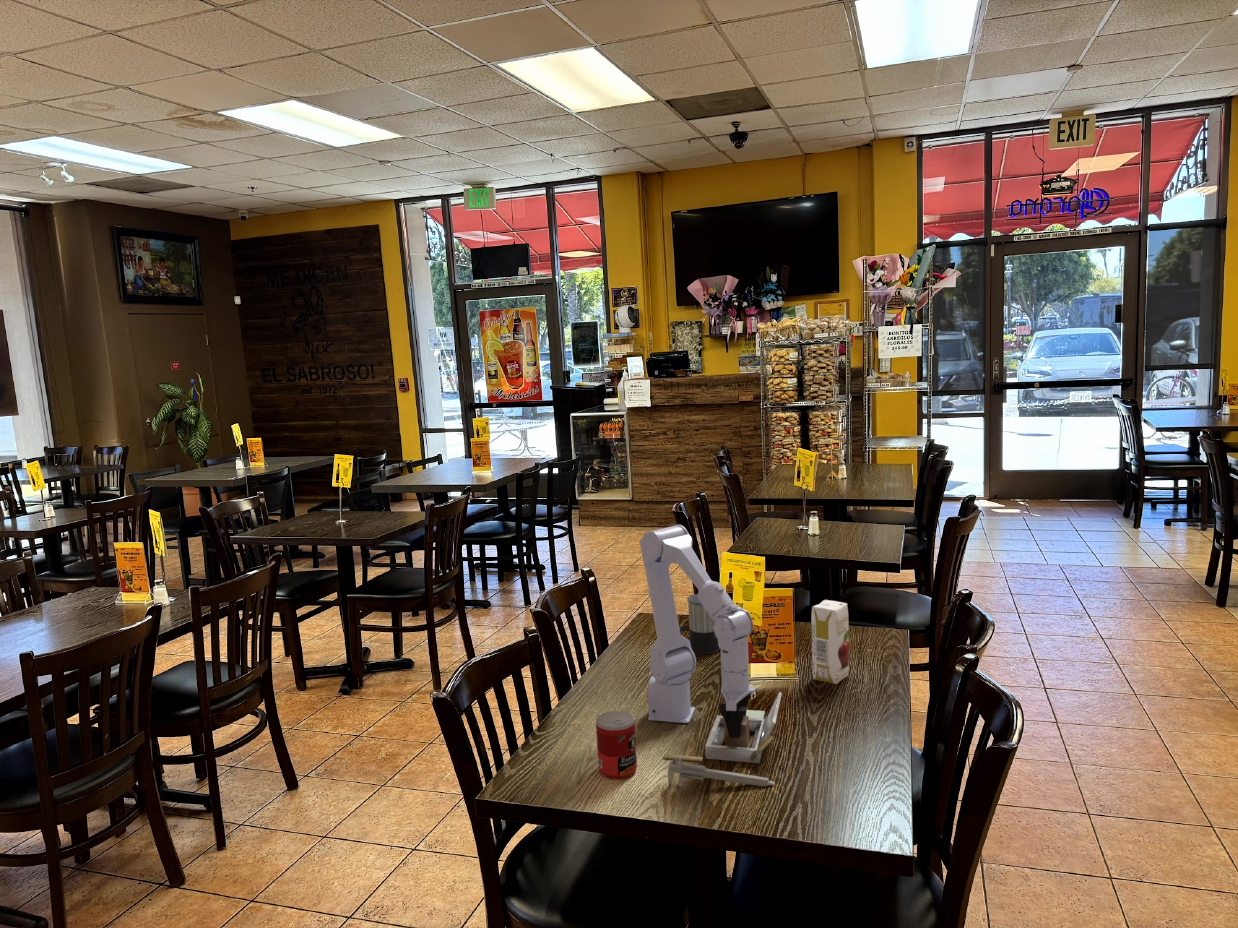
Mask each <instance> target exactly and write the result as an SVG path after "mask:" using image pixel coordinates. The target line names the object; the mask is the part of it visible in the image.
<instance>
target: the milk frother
mask: <svg viewBox="0 0 1238 928" xmlns="http://www.w3.org/2000/svg"><path fill="white" fill-rule="evenodd" d="M686 601H687V603H688V621H689V622H688V624H689V625H683V626H679V629H680V634H681V635H682V633H683V632H685V631H686V632H689V637H687V638H686V637H685V638H686V639H688V640H689V641H690V644H691V648H692V651H693V652H694V654H699V655H711V654H716V653H718V651H719V650H720V651H721V649H720V648H719V646H718V639H717V637H716V635H715V632H714V629H713V626H715V622H714V621H713V619H712V618H711V617H710V615H709V614H708V612H707V611H706V609H705V608H704V606H703V605H702V604H701V602H700V601H699V599H698V593H697V594H696V593H695V594H692V595H690V596H688V597H687V598H686ZM720 651H719V652H720ZM715 652H716V653H715Z"/></svg>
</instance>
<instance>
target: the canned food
mask: <svg viewBox="0 0 1238 928" xmlns="http://www.w3.org/2000/svg"><path fill="white" fill-rule="evenodd" d="M635 722H636V720H635V717H634V715H632V714H631V713H630V712H627V711H624V710H623V711H621V710H611V711H606V712H603V713H601V714H599V715H598V716H596V719H595V724H596V725H595V728H596V729H595V731H596V745H597V746H596V747H597V762H598V764H597V765H598V770H599V772H600V773H599V774H601V775H602V776H603V777H605V778H607V779H611V780H622V779H628V778H630V777H632V776H634V774H635V773H636V771H637V767H638V763H637V762H638V761H637V759H638V758H637V741H636V740H637V739H636V723H635Z"/></svg>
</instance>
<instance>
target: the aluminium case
mask: <svg viewBox="0 0 1238 928" xmlns="http://www.w3.org/2000/svg"><path fill="white" fill-rule="evenodd" d="M764 720H765V718H763V719H760V718H749V732H754V736H753V740H752V743H751V747H747V748H744V747H732V746H725V745H722V743H723V741H724V739H725V725H724V723H725V720H724V718H723V716H722V715H718V714H717V715H716V717H715V720H714V722H713V726H712V728H711V730H710V732H709V736H708V738H707V741H706V744H705V745H704V749H705V750H704V751H705V752H704V753H705V759H708V760H717V761H718V760H720V761H728V762H729V761H731V762H738V763H741V762H742V763H751V764H753V763H754V764H760V763H761V758H762V754H763V750H764V749H763V750H762V751H761V752H760V753H759V755H758V756H757V757H756V758H755V759H754V760H753V761H752V760H751V759H750V757H751V756H752V755H753V754H754V753H755V752H756V750H757V748H758V744H759V740H760V736H761V732H762V728H763V724H764Z"/></svg>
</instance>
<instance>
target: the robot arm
mask: <svg viewBox="0 0 1238 928" xmlns="http://www.w3.org/2000/svg"><path fill="white" fill-rule="evenodd" d="M639 545H640V549H641V556H642V562H643V566H644V570H645V576H646V581H647V587H648V592H649V599H650V604H651V605H650V606H651V609H652V614H653V620H654V627H655V632H656V637H657V638H656V640H655V641H654V643H653V644H652V646H651V647H650V648H649V655H650V659H649V670H650V673H651V675H652V676H651V677H650V678H649V680H648V687H647V701H648V718H647V719H648V720H649V721H653V722H667V723H679V724H681V723H682V724H689V723H690V721H691V719H692V717H693V715H694V712H695V710H696V707H695V706H691V689H690V688H691V687H690V683H691V682H690V678H691V677H692V672H694V671H695V669H696V666H697V657H696V655H695V654H696V653H694V652H693V651H692V648H691V644H690V641H689V640H688V639H686V637H684V636H683V635H682V633H681V634H680V629H679V627H680V624H679V619H678V614H677V613H678V612H677V608H676V602H675V595H674V591H673V585H672V580H671V574H670V569H669V568H670V566H671V565H672V564H677V565H678V566H679V568H680V569H681V570H682V571H683V572H684V574H685V575H686V576H687V577H688V579H690V581H691V582H692V584H693V585H694V586H695V587H696V588H697V590H698V591H697V594H698V599H699V601H700V602H701V604H702V605H703V606H704V608H705V609H706V611H707V612H708V614H709V615H710V617H711V618H712V619H713V621H714V622H715V626H713V629H714V632H715V635H716V637H717V639H718V646H719V648H720V649H721V650H720V666H721V667H720V668H721V672H720V673H721V687H720V692H721V694H722V697H723V698H724V700H725V703H719V706H718V711H719V713H720V715H721V716H723V718H724V720H725V723H726V727H727V731H728V734H729V737H730V738H738V739H739V738H740V734H741V728H742V720H743V716H746V711H747V710H748V703H749V700H750V697H751V695H752V694H755V692H756V687H754V686H750V670H749V667H750V666H749V665H750V663H749V641H748V639H749V638H748V637H749V635H751V634H752V633H753V630H754V621H753V619H752V616H751V614H750V613H749V611H748V610H746V609H744V608H742V607H740V606H739V605H738V604H735V602H734V601H733V600H732V599H731V597H730V595H729V594H728V592H727V591H726V590H725V588H724V587H723V585H722V584H721V582H718V581H713V580H712V579H711V578H710V575H709V574H708V572H707V571H706V569H705V568H704V566H703V564H702V563H701V561H700V559H699V558H698V556H697V554H696V552H695V551H694V549H693V538H692V536H691V535H690V533H689V531H688V530H687V528H686V527H685V526H683V525H682V524H675V525H673V526H668V527H664V528H663V527H662V528H660V529H659V528H658V529H654V530H648V531H646V532H645V533H644V534H643V535H642V537H641V539H640V540H639Z"/></svg>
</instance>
